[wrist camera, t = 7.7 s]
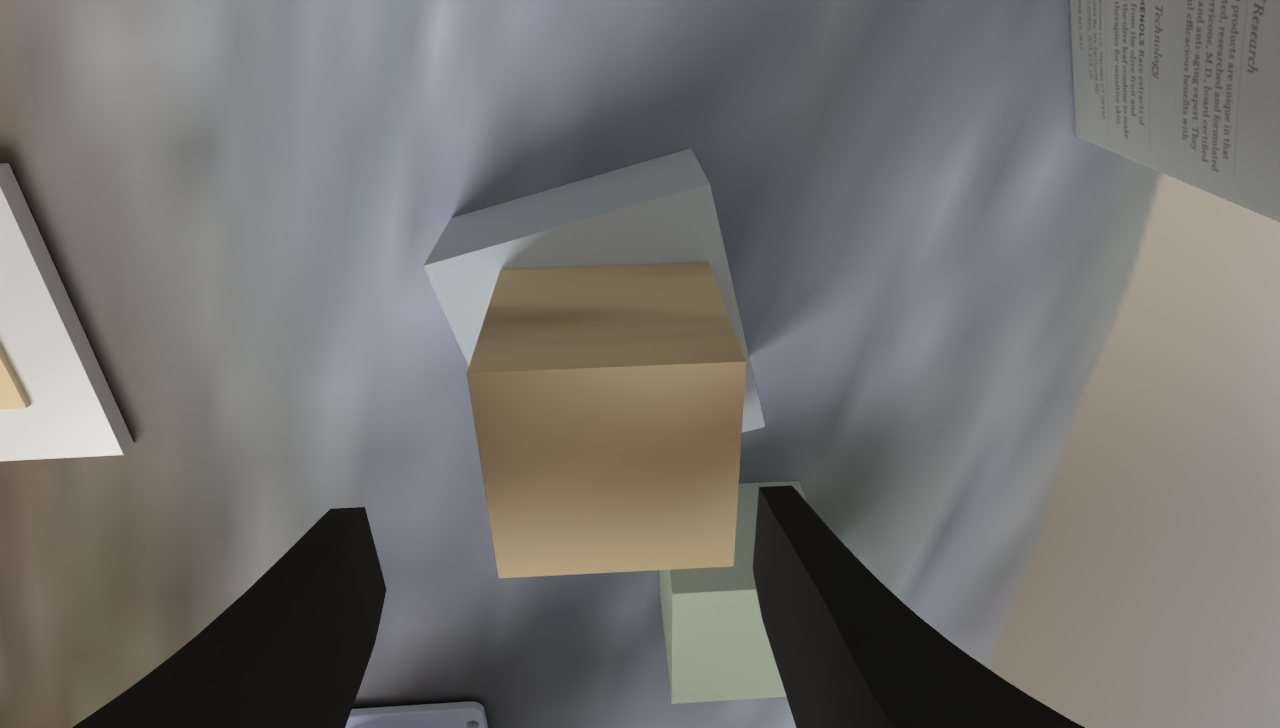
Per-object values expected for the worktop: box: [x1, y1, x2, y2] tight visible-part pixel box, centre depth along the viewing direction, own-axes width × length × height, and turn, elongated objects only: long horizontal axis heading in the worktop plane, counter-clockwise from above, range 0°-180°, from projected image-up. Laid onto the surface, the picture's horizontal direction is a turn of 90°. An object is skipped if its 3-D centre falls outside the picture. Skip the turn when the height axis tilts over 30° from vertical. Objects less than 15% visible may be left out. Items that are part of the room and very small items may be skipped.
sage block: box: [659, 481, 808, 704], centre depth 24 cm, size 5×5×5 cm
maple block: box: [467, 262, 746, 578], centre depth 16 cm, size 5×5×5 cm
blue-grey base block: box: [423, 148, 765, 433], centre depth 20 cm, size 7×7×4 cm
